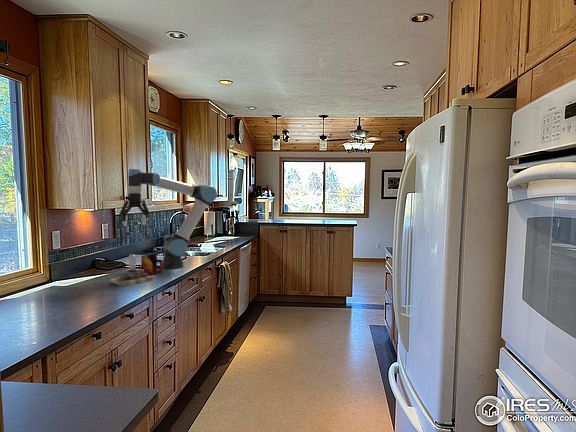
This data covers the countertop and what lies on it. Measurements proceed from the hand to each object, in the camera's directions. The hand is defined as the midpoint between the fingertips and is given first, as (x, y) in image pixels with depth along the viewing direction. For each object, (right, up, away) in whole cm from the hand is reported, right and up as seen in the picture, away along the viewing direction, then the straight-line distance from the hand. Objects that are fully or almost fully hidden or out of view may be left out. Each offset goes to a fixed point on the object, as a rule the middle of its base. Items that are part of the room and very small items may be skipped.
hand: (134, 225), depth 251 cm
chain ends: (+6, -33, -20) cm, 39 cm away
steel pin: (+6, -31, -20) cm, 37 cm away
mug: (+11, -32, +2) cm, 34 cm away
